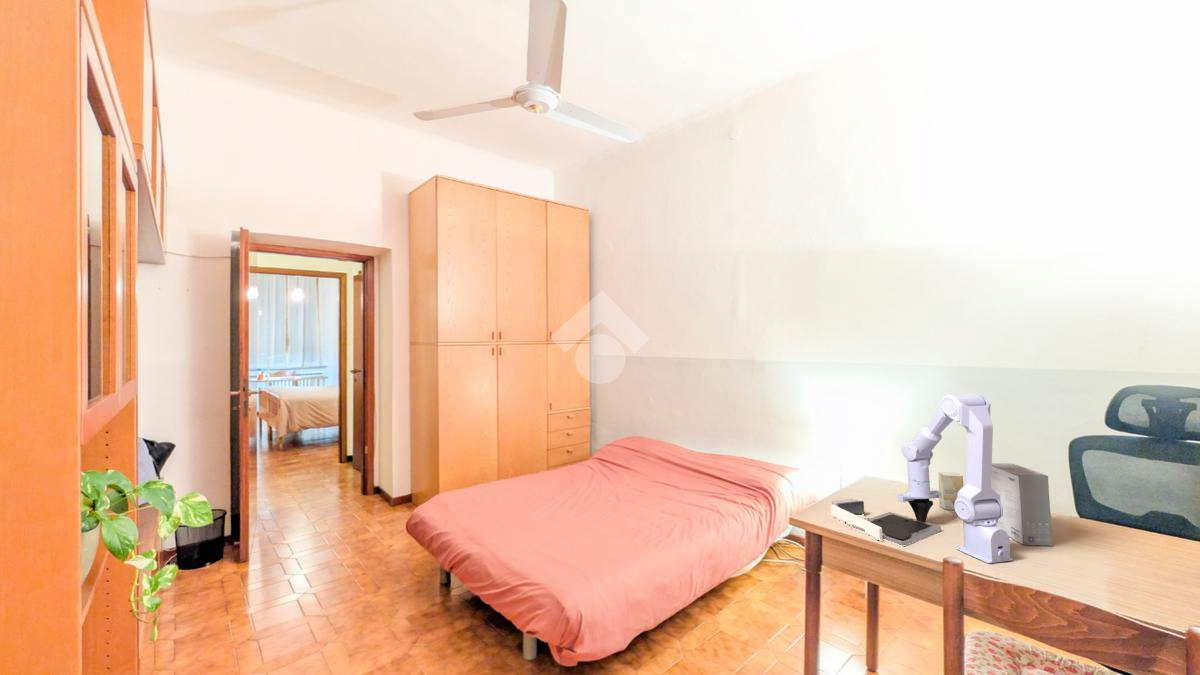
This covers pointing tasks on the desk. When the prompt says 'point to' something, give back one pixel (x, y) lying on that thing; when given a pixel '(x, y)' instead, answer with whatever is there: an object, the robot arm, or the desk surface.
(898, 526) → the picture frame
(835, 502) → the orange and blue block
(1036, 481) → the hard drive box
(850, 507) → the bookend
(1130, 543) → the desk surface
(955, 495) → the skincare box
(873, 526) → the shelf wall
